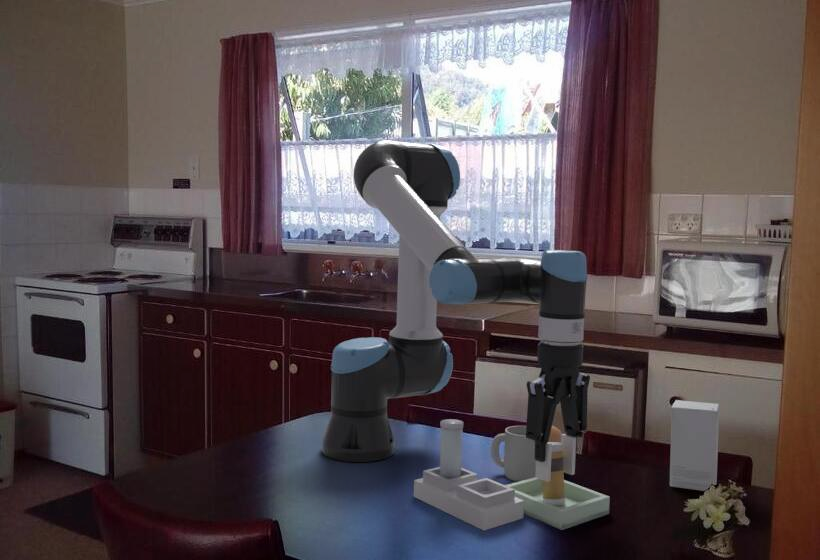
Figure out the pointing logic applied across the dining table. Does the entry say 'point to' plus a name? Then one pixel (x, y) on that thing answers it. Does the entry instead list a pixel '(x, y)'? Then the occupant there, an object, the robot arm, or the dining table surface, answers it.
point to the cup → (515, 453)
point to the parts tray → (575, 510)
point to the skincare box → (694, 445)
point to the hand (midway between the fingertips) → (555, 475)
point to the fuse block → (465, 487)
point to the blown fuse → (555, 478)
